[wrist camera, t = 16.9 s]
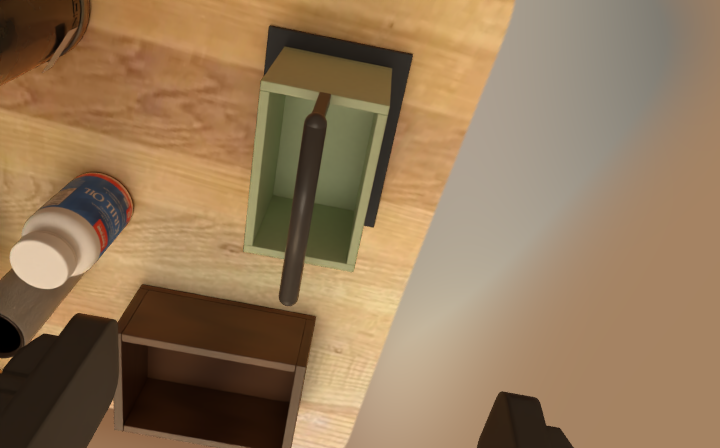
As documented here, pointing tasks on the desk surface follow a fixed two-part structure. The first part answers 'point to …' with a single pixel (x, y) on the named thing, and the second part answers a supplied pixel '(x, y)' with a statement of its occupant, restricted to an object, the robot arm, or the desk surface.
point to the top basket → (314, 161)
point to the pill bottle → (71, 230)
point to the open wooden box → (210, 370)
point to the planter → (26, 310)
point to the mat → (360, 53)
